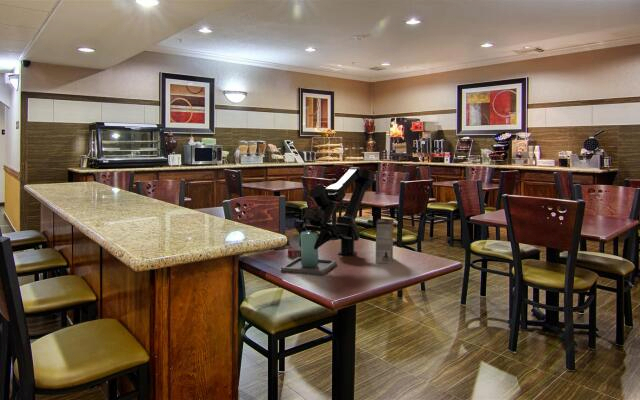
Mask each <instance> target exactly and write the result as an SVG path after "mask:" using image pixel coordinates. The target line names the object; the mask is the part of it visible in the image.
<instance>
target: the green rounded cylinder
mask: <svg viewBox="0 0 640 400" xmlns="http://www.w3.org/2000/svg"><path fill="white" fill-rule="evenodd" d="M318 237H319V232H317V231H311V230H309V231H304V232H301V265H302V266H306V267H313V266H317V265H318V259H319V248H317V249H316V250H315V249H314V246H315V244H316V242H317V240H318Z"/></svg>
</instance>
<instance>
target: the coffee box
mask: <svg viewBox="0 0 640 400" xmlns="http://www.w3.org/2000/svg"><path fill="white" fill-rule="evenodd" d="M393 253H394V218H377V220H376V221H375V263H376V264H392V263H393V259H394V256H393V255H394V254H393Z"/></svg>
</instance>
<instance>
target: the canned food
mask: <svg viewBox="0 0 640 400" xmlns="http://www.w3.org/2000/svg"><path fill="white" fill-rule="evenodd" d="M288 243H289V245H290V247H288V248H287V257H288V258H290V259H292V258H293V259H296V258H297V257H301V247H300V246H299V243H300V233H296V234H293V235H291V236H290V237H289V239H288Z"/></svg>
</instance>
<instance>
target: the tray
mask: <svg viewBox="0 0 640 400" xmlns="http://www.w3.org/2000/svg"><path fill="white" fill-rule="evenodd" d="M337 262H338V261H337V260H336V259H335V260H334V259H325V258H318V265H317V266H313V267H306V266H302V265H301V257H297V258H293V259H292V260H291V261H289V262H288V263H286V264H284V265H282V266H281V267H280V272H282V273H291V274H300V275H310V276H321V277H323V276H325V274H327V273H328V272H329V271H331V269H333V268H334V267H335V266H337Z"/></svg>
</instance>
